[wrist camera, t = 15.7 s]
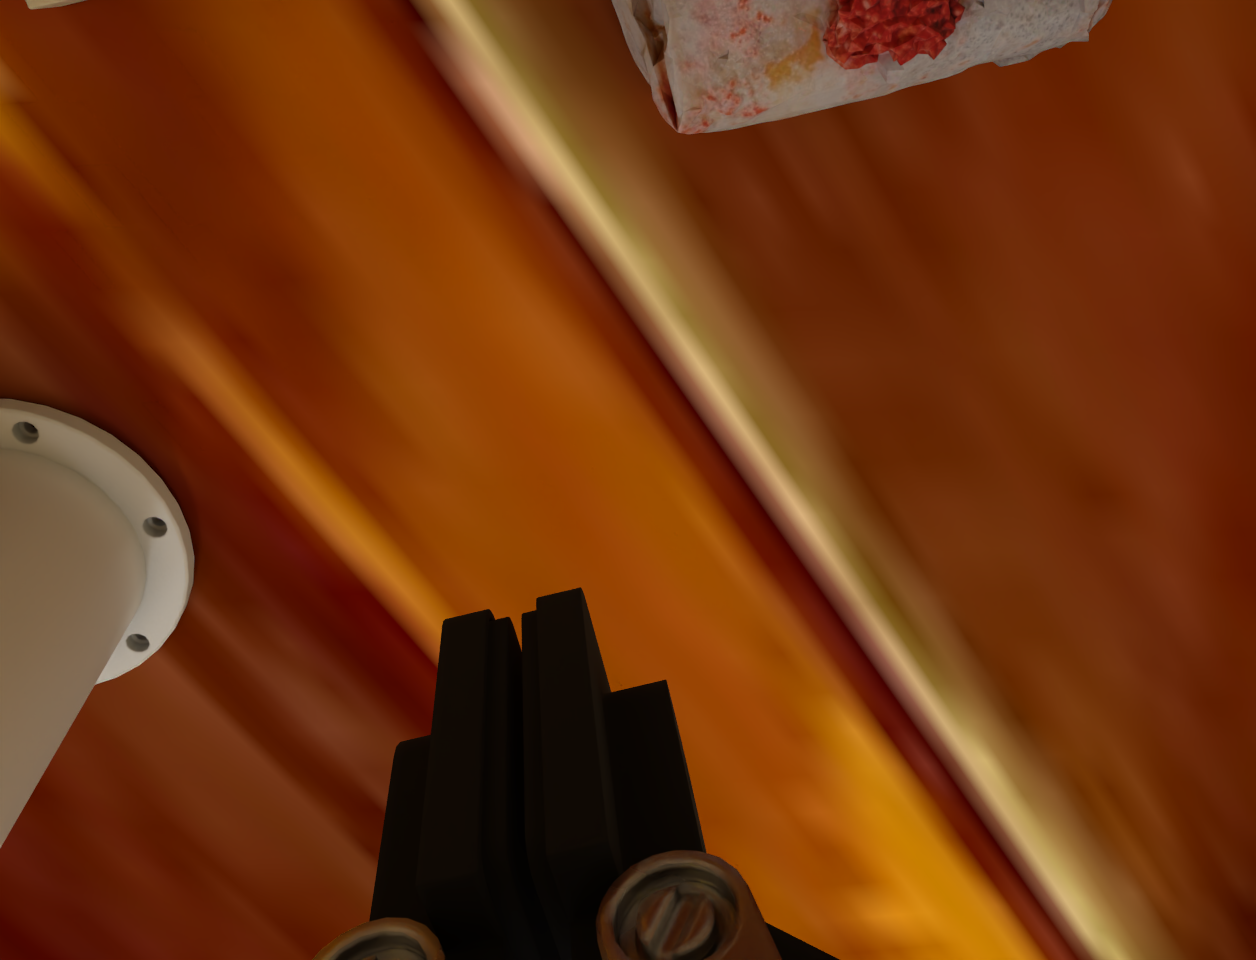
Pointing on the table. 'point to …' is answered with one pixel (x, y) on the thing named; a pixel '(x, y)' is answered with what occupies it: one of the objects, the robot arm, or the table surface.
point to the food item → (826, 50)
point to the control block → (49, 3)
